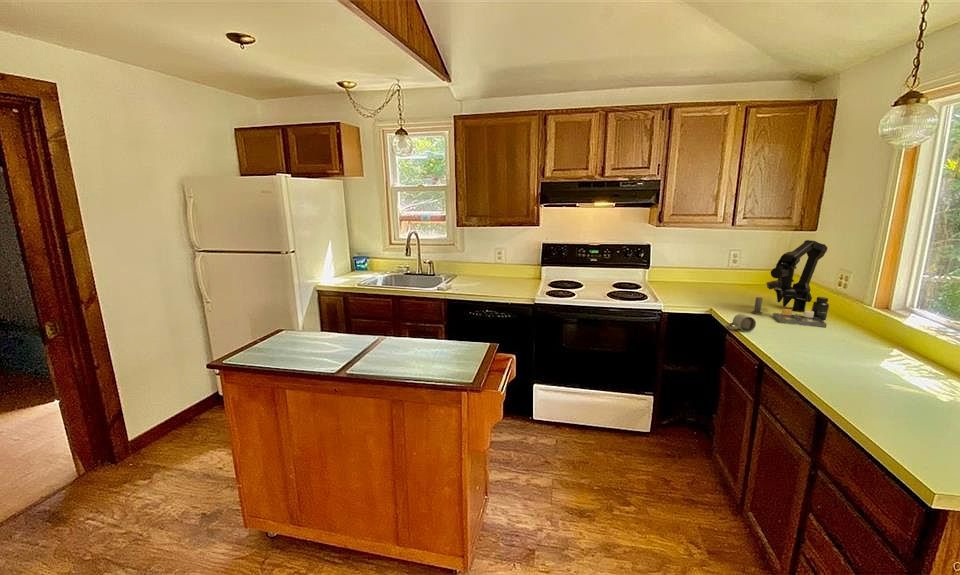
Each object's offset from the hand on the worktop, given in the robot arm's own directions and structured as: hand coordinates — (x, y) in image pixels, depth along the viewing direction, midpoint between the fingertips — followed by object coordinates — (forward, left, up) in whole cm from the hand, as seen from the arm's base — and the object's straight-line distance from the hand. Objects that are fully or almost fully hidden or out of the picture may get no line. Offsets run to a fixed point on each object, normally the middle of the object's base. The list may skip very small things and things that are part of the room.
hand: (781, 304), depth 235 cm
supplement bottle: (+3, +17, -6) cm, 18 cm away
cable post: (+4, -12, -6) cm, 14 cm away
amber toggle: (+10, 0, -4) cm, 11 cm away
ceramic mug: (+39, -28, -6) cm, 48 cm away
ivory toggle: (+10, +10, -4) cm, 14 cm away
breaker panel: (+13, +5, -6) cm, 15 cm away
